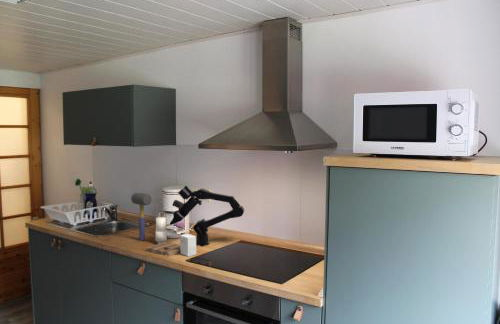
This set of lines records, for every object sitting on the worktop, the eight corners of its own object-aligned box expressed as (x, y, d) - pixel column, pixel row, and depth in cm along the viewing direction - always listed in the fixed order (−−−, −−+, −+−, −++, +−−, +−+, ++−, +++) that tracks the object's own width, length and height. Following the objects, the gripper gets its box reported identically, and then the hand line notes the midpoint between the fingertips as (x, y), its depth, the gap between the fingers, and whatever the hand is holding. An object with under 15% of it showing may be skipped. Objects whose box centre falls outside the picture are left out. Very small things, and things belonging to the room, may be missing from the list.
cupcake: (179, 231, 279) (178, 217, 278) (189, 233, 275) (189, 218, 274) (171, 234, 271) (170, 219, 270) (181, 235, 267) (181, 220, 266)
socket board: (187, 249, 234) (187, 246, 234) (168, 256, 221) (168, 252, 221) (165, 245, 244) (165, 242, 244) (146, 251, 232) (146, 247, 231)
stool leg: (169, 243, 248) (168, 217, 247) (160, 245, 243) (160, 219, 242) (161, 241, 252) (161, 216, 251) (153, 244, 247) (152, 218, 246)
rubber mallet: (153, 240, 255) (152, 193, 253) (143, 243, 249) (143, 194, 247) (140, 237, 262) (139, 191, 261) (131, 240, 256) (130, 192, 254)
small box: (196, 254, 224) (196, 236, 224) (187, 256, 221) (187, 237, 220) (188, 251, 230) (188, 233, 230) (180, 253, 227) (179, 235, 226)
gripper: (183, 193, 254) (166, 210, 256) (176, 197, 236) (158, 216, 237) (196, 206, 254) (179, 223, 256) (190, 211, 236) (171, 229, 237)
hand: (172, 222), depth 246 cm, fingers open, 9 cm apart
